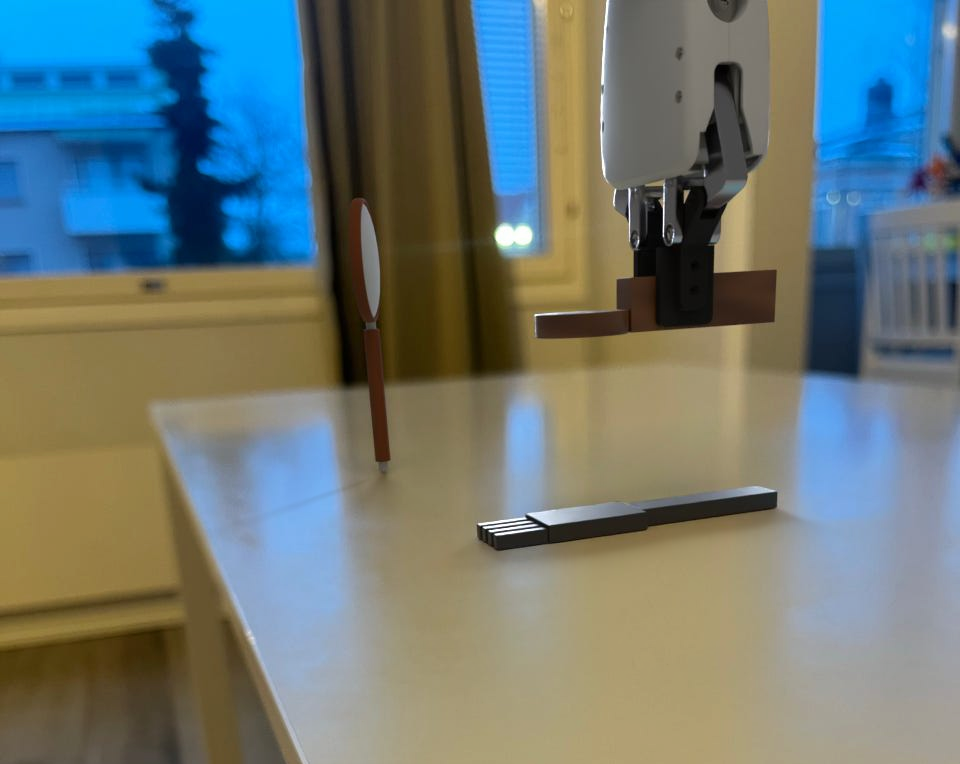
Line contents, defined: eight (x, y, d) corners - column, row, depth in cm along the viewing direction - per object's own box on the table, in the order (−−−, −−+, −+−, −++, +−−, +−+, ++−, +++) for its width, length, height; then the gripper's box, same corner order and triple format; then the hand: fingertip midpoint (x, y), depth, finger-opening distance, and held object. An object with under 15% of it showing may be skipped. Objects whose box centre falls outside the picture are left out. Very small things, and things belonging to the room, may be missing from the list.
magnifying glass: (387, 483, 74) (361, 191, 67) (364, 484, 74) (336, 193, 67) (401, 464, 82) (379, 202, 76) (381, 464, 82) (357, 203, 76)
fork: (749, 499, 61) (750, 483, 61) (784, 509, 58) (785, 493, 58) (476, 537, 56) (475, 519, 56) (498, 550, 53) (497, 532, 53)
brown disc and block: (741, 321, 59) (742, 271, 58) (792, 322, 54) (794, 268, 53) (521, 337, 55) (519, 283, 54) (557, 339, 50) (555, 281, 49)
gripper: (846, -126, 43) (819, 322, 49) (666, -16, 57) (663, 320, 63) (692, -139, 40) (684, 332, 47) (545, -22, 55) (554, 327, 61)
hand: (672, 322), depth 55 cm, fingers closed on brown disc and block
